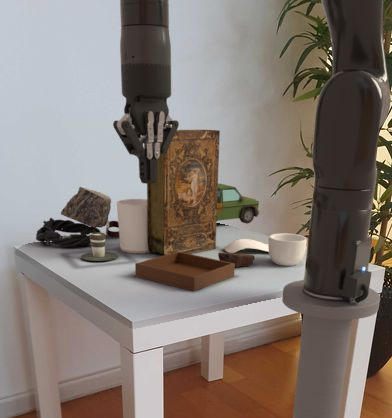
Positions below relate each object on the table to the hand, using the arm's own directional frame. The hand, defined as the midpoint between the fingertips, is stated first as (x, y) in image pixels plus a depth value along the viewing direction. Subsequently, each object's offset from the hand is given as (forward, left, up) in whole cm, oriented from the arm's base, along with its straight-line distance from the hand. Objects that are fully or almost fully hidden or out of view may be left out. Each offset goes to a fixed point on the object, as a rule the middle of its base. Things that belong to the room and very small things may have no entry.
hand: (148, 182), depth 90 cm
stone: (-2, -24, -18) cm, 30 cm away
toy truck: (+27, -57, -18) cm, 66 cm away
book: (+14, -26, -18) cm, 35 cm away
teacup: (-8, -33, -18) cm, 38 cm away
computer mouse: (+3, -37, -19) cm, 41 cm away
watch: (+37, -27, -18) cm, 49 cm away
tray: (+1, -10, -18) cm, 21 cm away
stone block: (+39, -21, -6) cm, 45 cm away
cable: (+40, -16, -18) cm, 47 cm away
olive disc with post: (+23, -9, -18) cm, 31 cm away
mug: (+23, -21, -18) cm, 36 cm away
